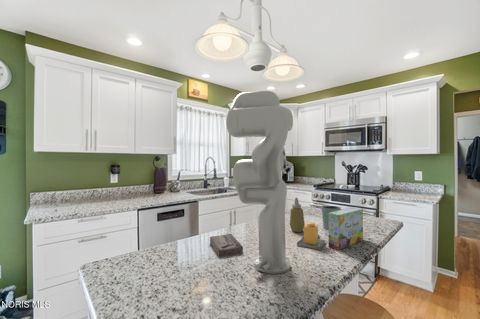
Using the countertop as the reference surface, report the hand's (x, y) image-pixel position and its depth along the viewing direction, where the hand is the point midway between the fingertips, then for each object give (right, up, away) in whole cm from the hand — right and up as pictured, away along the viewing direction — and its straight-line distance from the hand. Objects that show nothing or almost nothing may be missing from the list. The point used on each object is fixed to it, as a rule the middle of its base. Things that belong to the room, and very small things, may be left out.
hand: (274, 182), depth 106 cm
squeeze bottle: (+15, -29, +19) cm, 37 cm away
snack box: (+32, -28, -2) cm, 43 cm away
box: (-23, -29, -4) cm, 37 cm away
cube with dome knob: (+16, -27, -2) cm, 31 cm away
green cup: (+35, -28, +22) cm, 50 cm away
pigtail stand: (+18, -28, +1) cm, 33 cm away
